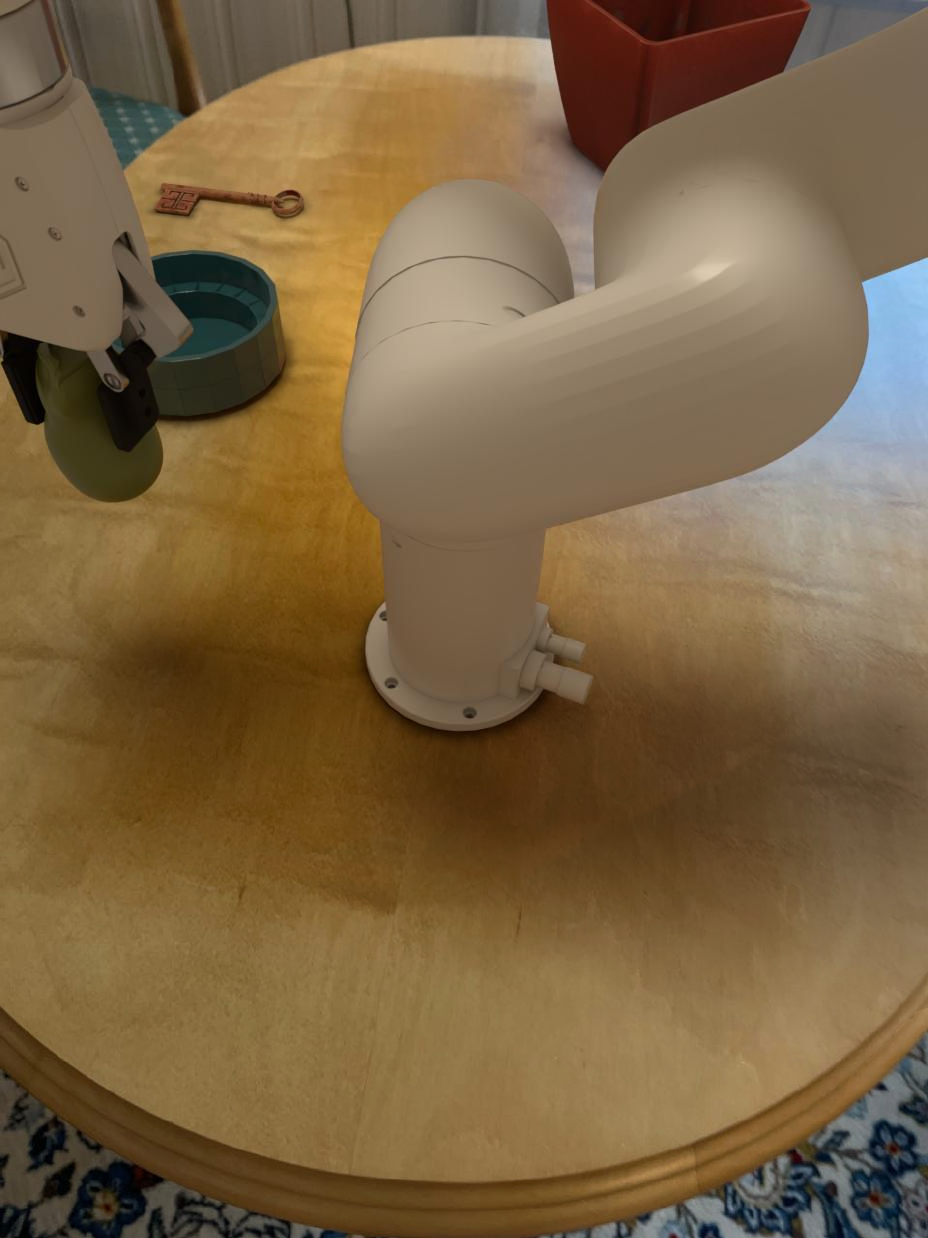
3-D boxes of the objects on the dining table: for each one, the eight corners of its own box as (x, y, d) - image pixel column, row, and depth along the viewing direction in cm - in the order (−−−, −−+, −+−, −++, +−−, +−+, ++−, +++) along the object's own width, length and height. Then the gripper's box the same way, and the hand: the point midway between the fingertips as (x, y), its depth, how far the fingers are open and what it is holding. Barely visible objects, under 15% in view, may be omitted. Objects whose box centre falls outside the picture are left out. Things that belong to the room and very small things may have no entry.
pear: (137, 439, 57) (83, 290, 49) (193, 482, 55) (147, 335, 47) (55, 489, 54) (-16, 342, 46) (111, 537, 52) (46, 391, 44)
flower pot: (621, 220, 99) (649, 42, 86) (528, 137, 109) (540, -34, 96) (770, 178, 105) (818, 5, 91) (668, 103, 115) (698, -63, 102)
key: (150, 213, 99) (291, 230, 97) (147, 204, 98) (290, 222, 96) (170, 179, 102) (308, 196, 100) (168, 171, 101) (307, 188, 99)
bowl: (317, 336, 86) (310, 276, 82) (226, 442, 78) (212, 381, 73) (172, 293, 90) (157, 234, 85) (69, 390, 81) (46, 329, 77)
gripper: (-298, 46, 36) (-87, 424, 50) (93, 134, 33) (200, 513, 47) (-152, -26, 40) (4, 342, 55) (207, 45, 37) (273, 417, 51)
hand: (93, 418), depth 51 cm, fingers closed on pear, 4 cm apart
